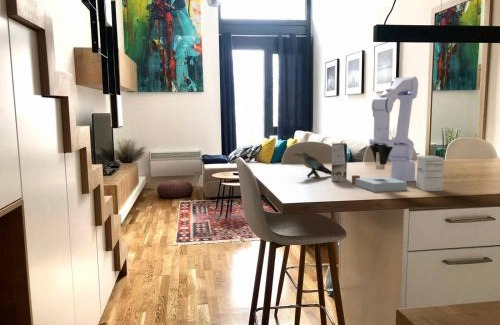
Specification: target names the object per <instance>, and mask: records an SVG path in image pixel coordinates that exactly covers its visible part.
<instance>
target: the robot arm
mask: <svg viewBox="0 0 500 325" xmlns="http://www.w3.org/2000/svg"><path fill="white" fill-rule="evenodd" d="M418 91H419V81H418V78H417V76H408V77H393V78H392V80H391V82H390V87H389V88H386V89H385V90H384V91H383V92H382V93H381V94H380V96H379V97H375V98H374V99H372V101H371V102H372V103H371V110H372V117H373V138H369V141H368V142H369V143H368V144H369V145H370V146H369V148H370V151H372V155H373V159H374V163H375V164H376V152H379V156H380V164H381V165H383V164H385V165H386V164H387V162H388V159H389V160H390V161H391V163H390V178H393V179H397V180H401V181H405V182H417V179H416V164H415V161H414V160H412V159H413V158H414V154H415V148H414V147H415V146H414V145H415V143H414V142H413V140H411V139H410V138H409V132H410V130H409V129H410V122H411V114H412V106H413V101H414V100H415V99H417V96H418ZM396 100H399V109H398V110H399V111H398V117H397V125H396V130H395V131H396V133H395V137H393V138H391V139H390V123H391V122H390V118H391V117H390V116H391V112H392V111H393V107H394V103H395V102H396Z"/></svg>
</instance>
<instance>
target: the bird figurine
mask: <svg viewBox="0 0 500 325" xmlns="http://www.w3.org/2000/svg"><path fill="white" fill-rule="evenodd" d="M293 156H298V157H299V158H300V159H301V161H302V163H303V165H304V166H305V167H306V168H308V169H311V171H310V172H308V174H307V175H306V176H307V178H310V177H311V176H313V175H314V177H315V178H316V179H317V180H319V179H321V176H320V175H319V173H318V172H320V173H323V174H326V175H330V176H331V177H332V169H331V170H330V169H329V168H327V167H326V166H325V165H324V164H323V163H322V162H320V161H319V159H318V158H316V157H315V156H312V155H310V153H308V152H306V151H304V150H302V151H299V152H297V153H295V154H293Z"/></svg>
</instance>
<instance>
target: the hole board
mask: <svg viewBox="0 0 500 325" xmlns="http://www.w3.org/2000/svg"><path fill="white" fill-rule="evenodd" d="M354 186H355V187H358V188H361V189H363V188H364V190H366V189H367V191H369V190H370V192H373V193H374V192H375V193H377V192H379V193H380V192H395V191H407V190H408V189H407V188H408V181H406V182H405V181H401V180H397V179H393V178H391V177H389V176H378V177H377V176H376V177H375V176H374V177H360V178H356V180H355V185H354Z"/></svg>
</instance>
